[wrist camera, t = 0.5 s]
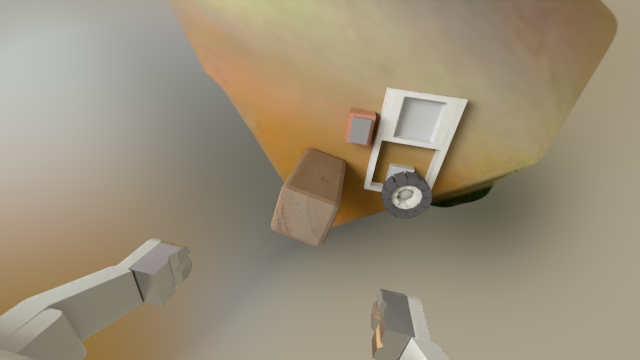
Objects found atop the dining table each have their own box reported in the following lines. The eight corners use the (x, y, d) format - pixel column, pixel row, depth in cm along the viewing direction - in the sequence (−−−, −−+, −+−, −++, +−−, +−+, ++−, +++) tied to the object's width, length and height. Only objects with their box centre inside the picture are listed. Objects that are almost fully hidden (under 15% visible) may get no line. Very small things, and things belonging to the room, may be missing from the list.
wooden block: (347, 160, 54) (341, 208, 36) (333, 194, 58) (321, 251, 41) (307, 145, 53) (281, 185, 36) (296, 180, 58) (268, 231, 41)
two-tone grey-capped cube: (351, 107, 48) (349, 113, 43) (374, 111, 48) (376, 117, 42) (346, 135, 51) (344, 144, 46) (368, 139, 51) (369, 148, 45)
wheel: (387, 168, 44) (389, 174, 42) (434, 176, 44) (439, 182, 41) (377, 205, 48) (378, 213, 46) (419, 213, 48) (422, 221, 45)
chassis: (387, 86, 45) (393, 91, 37) (462, 97, 44) (484, 105, 36) (363, 183, 56) (364, 203, 48) (424, 194, 54) (435, 217, 46)
